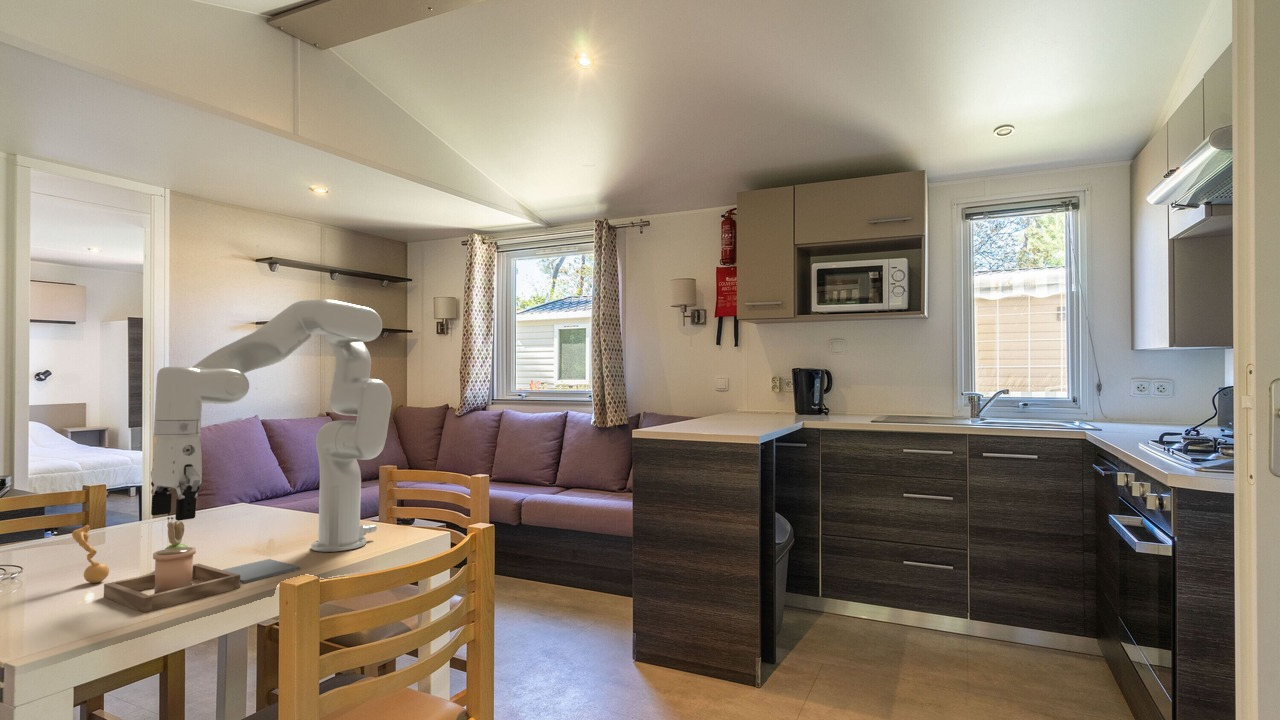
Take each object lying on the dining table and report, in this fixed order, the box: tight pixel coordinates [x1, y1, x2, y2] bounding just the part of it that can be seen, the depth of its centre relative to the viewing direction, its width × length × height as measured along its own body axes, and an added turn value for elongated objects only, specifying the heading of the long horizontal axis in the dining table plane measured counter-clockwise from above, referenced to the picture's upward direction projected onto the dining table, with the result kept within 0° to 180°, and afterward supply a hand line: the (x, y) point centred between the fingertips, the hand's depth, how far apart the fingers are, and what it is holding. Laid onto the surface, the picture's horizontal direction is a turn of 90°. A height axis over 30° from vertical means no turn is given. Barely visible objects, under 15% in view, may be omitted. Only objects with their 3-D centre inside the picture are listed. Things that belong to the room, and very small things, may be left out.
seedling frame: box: [103, 563, 241, 613], centre depth 125 cm, size 16×16×2 cm
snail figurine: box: [164, 516, 188, 549], centre depth 141 cm, size 5×6×12 cm
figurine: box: [71, 524, 110, 584], centre depth 130 cm, size 8×6×12 cm
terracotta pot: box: [152, 546, 197, 594], centre depth 125 cm, size 7×7×8 cm
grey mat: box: [222, 558, 301, 584], centre depth 139 cm, size 12×12×1 cm
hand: (172, 516), depth 125 cm, fingers open, 9 cm apart
